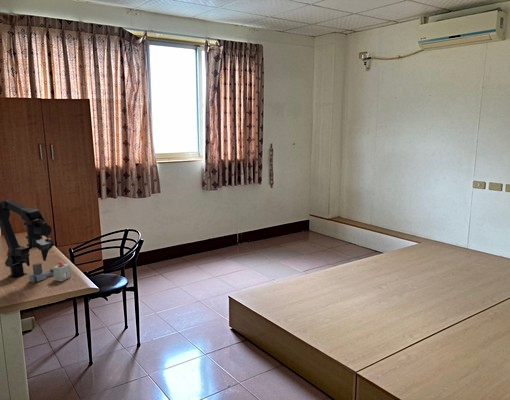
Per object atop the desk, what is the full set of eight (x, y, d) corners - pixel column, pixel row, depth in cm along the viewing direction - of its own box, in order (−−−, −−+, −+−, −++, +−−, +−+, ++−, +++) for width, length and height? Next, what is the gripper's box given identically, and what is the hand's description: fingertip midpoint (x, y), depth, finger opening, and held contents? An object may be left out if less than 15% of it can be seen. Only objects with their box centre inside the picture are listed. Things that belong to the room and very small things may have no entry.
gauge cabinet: (54, 280, 223) (52, 267, 222) (64, 276, 228) (62, 263, 227) (61, 281, 220) (60, 268, 219) (71, 277, 226) (70, 264, 224)
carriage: (30, 280, 223) (29, 265, 221) (39, 276, 227) (37, 262, 226) (37, 281, 220) (36, 266, 219) (46, 278, 225) (44, 263, 223)
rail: (29, 281, 221) (29, 276, 220) (51, 273, 232) (51, 268, 232) (33, 282, 219) (33, 277, 219) (55, 274, 231) (55, 269, 230)
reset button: (58, 269, 223) (57, 262, 222) (61, 268, 225) (61, 261, 224) (61, 269, 222) (60, 263, 221) (64, 268, 224) (63, 261, 223)
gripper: (27, 240, 208) (30, 271, 210) (60, 231, 224) (62, 260, 227) (12, 237, 213) (15, 268, 215) (45, 229, 229) (48, 257, 232)
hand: (36, 263), depth 222 cm, fingers open, 9 cm apart
